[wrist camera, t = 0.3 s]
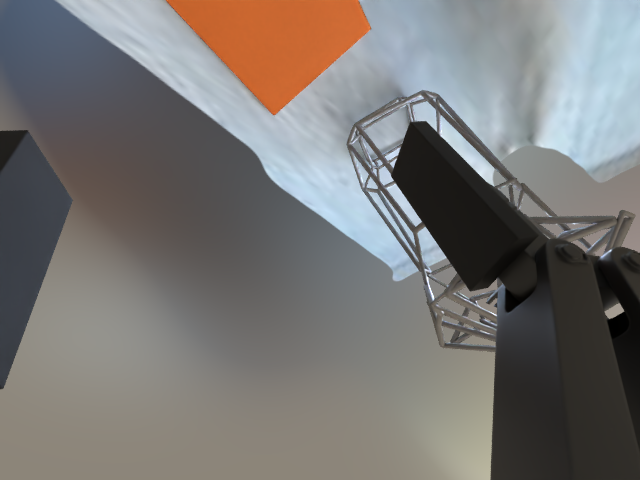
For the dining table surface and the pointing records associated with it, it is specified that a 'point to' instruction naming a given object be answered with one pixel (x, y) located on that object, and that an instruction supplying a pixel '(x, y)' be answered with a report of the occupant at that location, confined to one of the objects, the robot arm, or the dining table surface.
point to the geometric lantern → (601, 222)
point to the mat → (276, 40)
